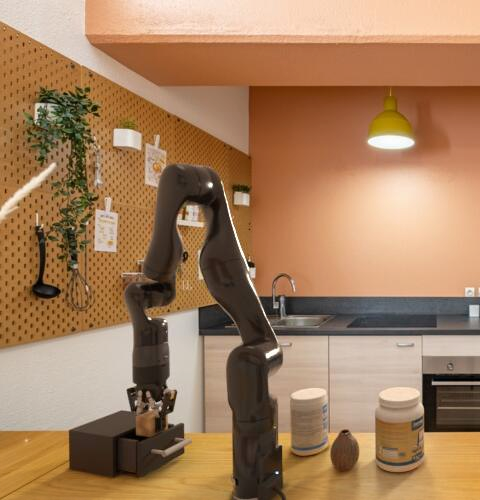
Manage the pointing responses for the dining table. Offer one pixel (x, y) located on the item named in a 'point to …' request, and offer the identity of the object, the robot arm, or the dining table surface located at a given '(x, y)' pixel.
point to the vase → (344, 451)
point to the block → (147, 424)
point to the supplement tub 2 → (399, 429)
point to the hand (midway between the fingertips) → (152, 429)
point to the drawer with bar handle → (150, 450)
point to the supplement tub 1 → (309, 421)
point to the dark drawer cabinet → (99, 443)
